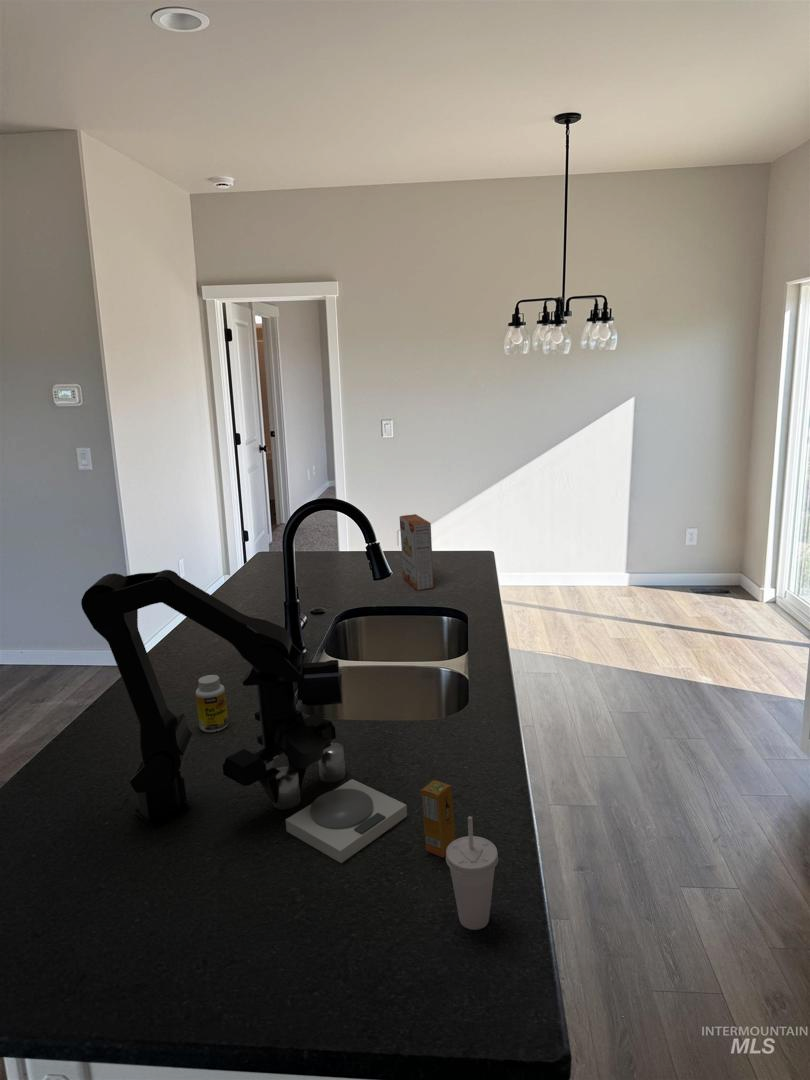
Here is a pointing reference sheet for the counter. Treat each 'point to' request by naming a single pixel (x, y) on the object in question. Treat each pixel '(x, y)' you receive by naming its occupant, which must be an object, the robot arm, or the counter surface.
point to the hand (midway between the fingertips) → (286, 795)
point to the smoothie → (472, 877)
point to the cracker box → (416, 551)
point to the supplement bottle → (211, 704)
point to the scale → (346, 819)
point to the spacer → (287, 788)
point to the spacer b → (332, 764)
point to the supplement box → (438, 817)
